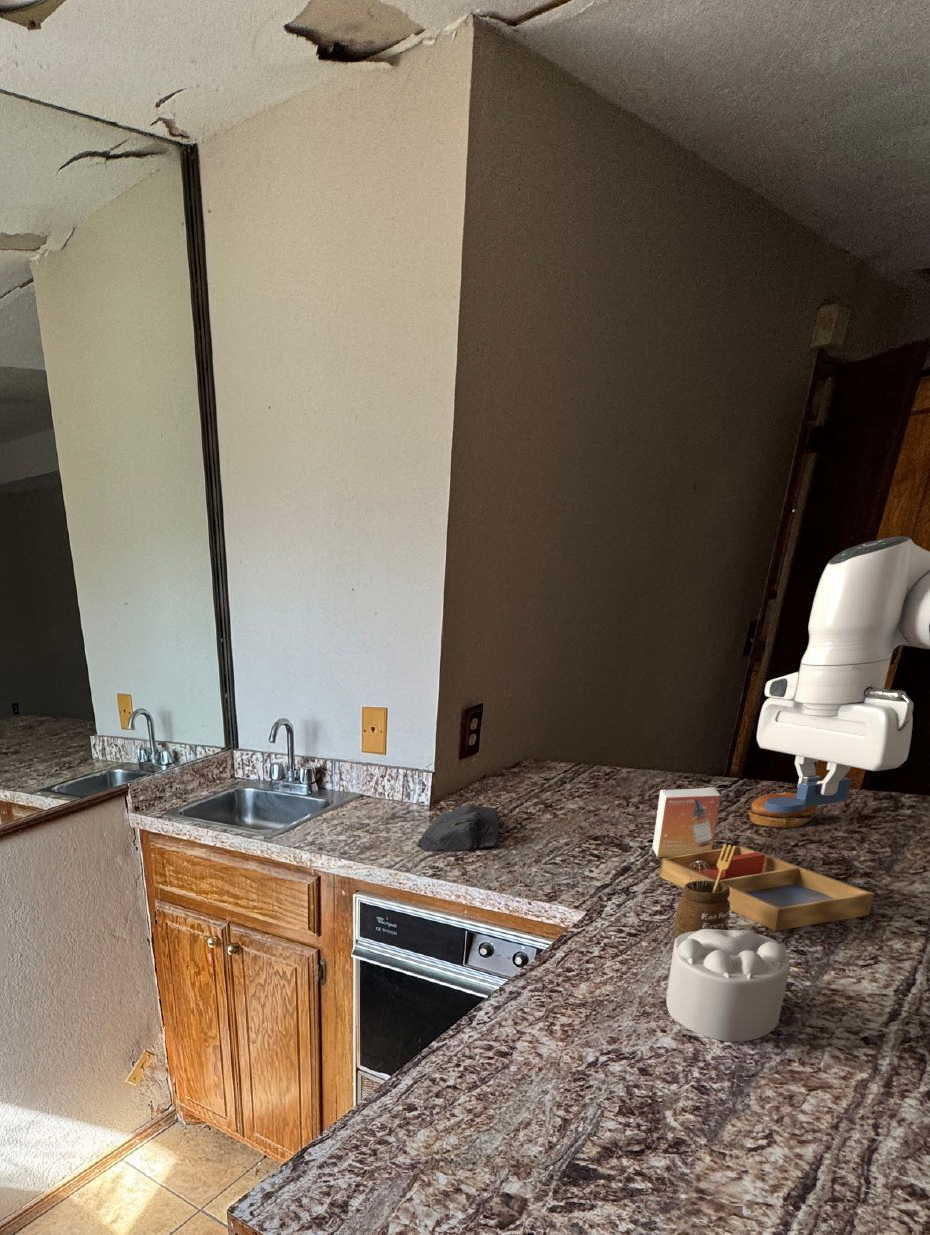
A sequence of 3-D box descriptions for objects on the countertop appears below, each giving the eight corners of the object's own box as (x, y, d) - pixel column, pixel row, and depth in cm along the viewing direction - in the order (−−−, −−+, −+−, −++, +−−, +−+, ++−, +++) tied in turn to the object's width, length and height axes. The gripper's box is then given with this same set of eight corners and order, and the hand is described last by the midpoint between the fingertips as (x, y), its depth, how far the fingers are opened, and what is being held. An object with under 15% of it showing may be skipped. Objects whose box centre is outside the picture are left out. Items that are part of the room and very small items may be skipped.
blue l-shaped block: (828, 796, 108) (833, 774, 107) (855, 803, 104) (861, 780, 103) (756, 807, 108) (760, 786, 107) (781, 814, 104) (785, 792, 103)
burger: (766, 831, 136) (771, 805, 134) (736, 818, 144) (740, 793, 142) (828, 824, 135) (834, 798, 133) (794, 811, 143) (799, 786, 141)
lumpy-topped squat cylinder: (765, 989, 91) (780, 921, 88) (789, 1046, 81) (806, 972, 77) (662, 983, 96) (672, 918, 92) (672, 1036, 86) (683, 966, 82)
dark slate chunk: (508, 818, 164) (509, 796, 162) (495, 851, 147) (496, 827, 145) (433, 819, 171) (433, 798, 169) (412, 851, 154) (412, 828, 152)
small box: (656, 858, 132) (664, 797, 128) (651, 848, 137) (659, 788, 132) (712, 857, 129) (722, 794, 125) (705, 847, 134) (715, 786, 129)
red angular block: (747, 867, 122) (750, 849, 120) (769, 876, 118) (772, 857, 116) (683, 878, 121) (686, 859, 120) (703, 887, 117) (706, 868, 116)
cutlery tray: (737, 863, 125) (740, 845, 124) (869, 915, 104) (874, 893, 102) (658, 876, 125) (661, 858, 124) (774, 931, 104) (779, 909, 102)
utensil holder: (662, 934, 107) (674, 851, 102) (696, 922, 109) (709, 839, 104) (703, 947, 102) (717, 861, 97) (737, 935, 104) (753, 849, 99)
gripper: (942, 687, 90) (909, 805, 96) (800, 675, 109) (780, 774, 114) (889, 695, 90) (860, 813, 96) (756, 682, 108) (739, 781, 114)
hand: (816, 791), depth 105 cm, fingers closed on blue l-shaped block
